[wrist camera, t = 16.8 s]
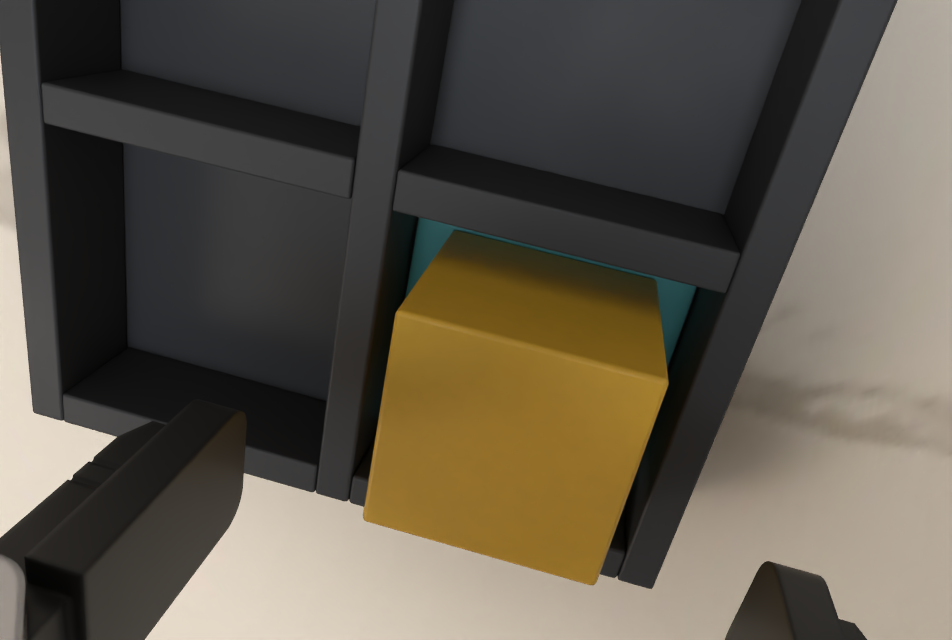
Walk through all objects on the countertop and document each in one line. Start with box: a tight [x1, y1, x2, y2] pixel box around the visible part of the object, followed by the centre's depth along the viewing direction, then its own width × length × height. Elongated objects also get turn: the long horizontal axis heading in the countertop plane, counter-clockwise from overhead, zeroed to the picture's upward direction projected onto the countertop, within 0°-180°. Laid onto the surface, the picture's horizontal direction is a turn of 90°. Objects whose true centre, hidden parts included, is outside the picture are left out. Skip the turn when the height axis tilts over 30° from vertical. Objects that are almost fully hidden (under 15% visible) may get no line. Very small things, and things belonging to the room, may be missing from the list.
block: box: [363, 231, 669, 585], centre depth 14 cm, size 4×4×4 cm
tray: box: [0, 0, 897, 589], centre depth 15 cm, size 15×15×3 cm
